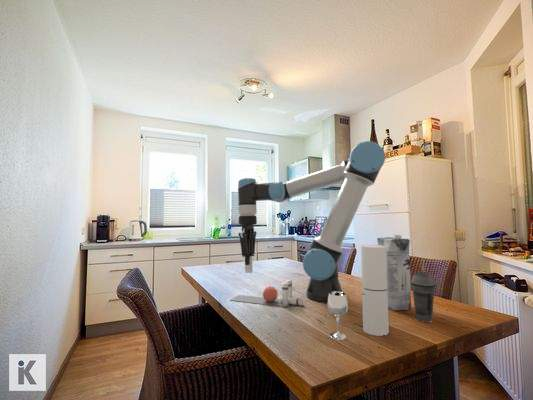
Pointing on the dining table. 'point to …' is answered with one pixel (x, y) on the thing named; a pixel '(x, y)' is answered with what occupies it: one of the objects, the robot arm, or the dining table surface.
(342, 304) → the wineglass
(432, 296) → the beverage cup
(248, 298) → the grey flat board
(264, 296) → the ball
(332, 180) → the robot arm
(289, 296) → the pin back right
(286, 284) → the pin back left
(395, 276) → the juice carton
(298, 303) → the pin front
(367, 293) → the cylindrical container
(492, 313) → the dining table surface
